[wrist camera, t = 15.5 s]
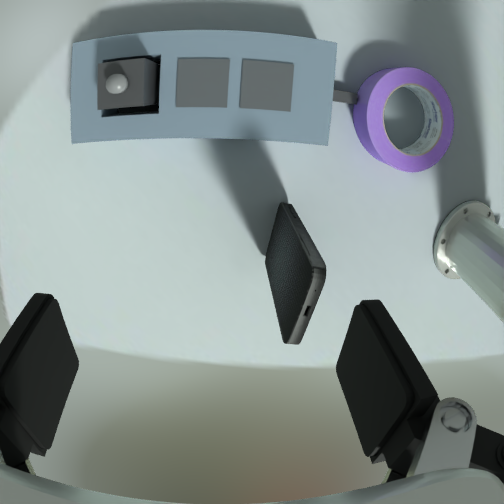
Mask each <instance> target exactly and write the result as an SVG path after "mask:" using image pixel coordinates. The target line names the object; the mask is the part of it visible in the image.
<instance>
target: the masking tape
mask: <svg viewBox="0 0 504 504" xmlns="http://www.w3.org/2000/svg"><path fill="white" fill-rule="evenodd" d="M402 86H403V87H406V88H408V89H409V90H411V91H412V92H413V93H414V94H415V95H416V96H417V97H418V99H419V100H420V102H421V104H422V107H423V110H424V115H425V121H424V127H423V130H422V133H421V135H420V137H419V138H418V139H417V140H416V141H415V142H414V143H413V144H412V145H410V146H408V147H406V148H401V149H398V148H397V147H396V146H395V145H394V144H393V143H392V142H391V141H390V139H389V137H388V135H387V132H386V129H385V125H384V110H385V106H386V103H387V101H388V99H389V97H390V95H391V94H392V93H393V92H394V91H395V90H397V89H398V88H400V87H402ZM357 94H358V97H357V105H356V104H354V108H353V120H354V126H355V130H356V133H357V135H358V138H359V140H360V142H361V143H362V145H363V146H364V148H365V149H366V150H367V151H368V152H369V153H370V154H371V155H372V156H373V157H375V158H376V159H378V160H379V161H381V162H384V163H386V164H388V165H390V166H392V167H394V168H396V169H398V170H401V171H406V172H419V171H423V170H426V169H428V168H430V167H432V166H433V165H435V164H436V163H437V162H438V161H439V160H440V159H441V158H442V157H443V155H444V154H445V153H446V151H447V149H448V147H449V145H450V142H451V139H452V135H453V129H454V116H453V109H452V106H451V102H450V100H449V97H448V95H447V93H446V92H445V90H444V88H443V87H442V86H441V84H440V83H439V82H438V81H437V80H436V79H435V78H434V77H432V76H431V75H430V74H428V73H426V72H425V71H422V70H420V69H417V68H412V67H401V68H390V69H384V70H381V71H378V72H376V73H374V74H372V75H371V76H370V77H368V78H367V79H366V80H365V81H364V83H363V84H362V85H361V87H360V88H359V90H358V92H357Z"/></svg>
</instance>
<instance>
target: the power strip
mask: <svg viewBox="0 0 504 504" xmlns="http://www.w3.org/2000/svg"><path fill="white" fill-rule="evenodd" d="M336 53H337V43H335V42H330V41H325V40H319V39H313V38H307V37H300V36H292V35H284V34H275V33H265V32H253V31H236V30H173V31H156V32H144V33H134V34H125V35H117V36H110V37H103V38H97V39H91V40H86V41H80V42H75V43H73V49H72V65H71V138H72V144H75V143H85V142H97V141H112V140H129V139H155V138H222V139H249V140H267V141H281V142H294V143H305V144H316V145H325V146H328V139H329V130H330V121H331V111H332V101H337V102H343V103H349V104H356V105H357V97H358V94H356V93H351V92H345V91H339V90H334V79H335V66H336ZM140 58H146V59H148V60H150V61H161V68H160V90H159V111H157V112H136V113H121V114H118V108H112V109H102V110H97V83H98V64H99V63H106V62H113V61H121V60H130V59H140Z"/></svg>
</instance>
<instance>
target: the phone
mask: <svg viewBox="0 0 504 504" xmlns="http://www.w3.org/2000/svg"><path fill="white" fill-rule="evenodd" d="M265 265H266V269H267V274H268V278H269V282H270V287H271V291H272V295H273V300H274V304H275V308H276V313H277V317H278V322H279V326H280V331H281V335H282V339H283V342H284V343H285V344H299V343H300V342H301V340H302V338H303V336H304V333H305V331H306V328H307V326H308V324H309V321H310V319H311V316H312V314H313V311H314V309H315V306H316V304H317V301H318V299H319V296H320V294H321V291H322V288H323V286H324V283H325V279H326V265H325V262H324V261H323V259H322V257H321V255H320V253H319V252H318V250H317V248H316V246H315V244H314V243H313V241H312V239H311V237H310V235H309V234H308V232H307V230H306V228H305V227H304V225H303V223H302V221H301V220H300V218H299V216H298V214H297V213H296V211H295V209H294V207H293V206H292V204H287V203H282V202H281V203H280V205H279V208H278V211H277V215H276V219H275V223H274V227H273V230H272V234H271V238H270V242H269V245H268V249H267V253H266V259H265Z"/></svg>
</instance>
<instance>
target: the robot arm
mask: <svg viewBox="0 0 504 504" xmlns="http://www.w3.org/2000/svg"><path fill="white" fill-rule="evenodd" d="M434 261H435V264H436V267H437V268H438V270H439V271H440V272H441V273H442V274H443V275H444V276H445V277H447V278H450V279H460V278H461V279H462V280H463V281H464V282H465V283H466V284H467V285H468V286H469V287H470V288H471V289H472V290H473V291H474V292H475V293H476V294H477V295H478V296H479V297H480V298H481V299H482V300H483V301H484V302H485V303H486V304H487V305H488V307H489V308H490V309H491V310H492V311H493V312H494V313H495V314H496V315H497V316H498V317H499V319H500V320H501V321H502V322H503V323H504V229H503V228H502V227H500V226H499V225H497V224H496V222H495V217H494V214H493V212H492V211H491V209H490V208H489V207H488V206H487V205H485V204H484V203H482V202H480V201H475V200H473V201H467V202H465V203H462V204H461V205H459V206H457V207H456V208H455V209H454V210H453V211H452V212H451V213H450V214H449V215H448V216H447V217H446V219H445V220H444V222H443V223H442V225H441V227H440V229H439V231H438V234H437V237H436V240H435V244H434ZM78 367H79V361H78V357H77V355H76V352H75V349H74V347H73V344H72V341H71V339H70V336H69V333H68V330H67V327H66V325H65V322H64V319H63V316H62V312H61V309H60V306H59V303H58V301H57V300H56V299H54V297H53V296H52V295H51V294H43V293H35V294H34V295H33V296H32V298H31V299H30V300H29V302H28V303H27V305H26V306H25V307H24V309H23V310H22V312H21V313H20V315H19V316H18V317H17V319H16V320H15V322H14V323H13V325H12V326H11V328H10V329H9V331H8V332H7V334H6V336H5V337H4V339H3V340H2V342H1V343H0V504H184V503H169V502H159V501H150V500H142V499H135V498H128V497H121V496H116V495H110V494H104V493H100V492H95V491H90V490H86V489H82V488H78V487H73V486H70V485H66V484H62V483H59V482H55V481H52V480H48V479H45V478H42V477H39V476H36V474H35V472H34V469H33V467H32V465H31V463H30V460H29V458H28V457H29V454H30V452H31V453H34V454H37V455H41V456H45V454H46V451H47V449H50V448H51V446H52V442H53V440H54V436H55V433H56V430H57V427H58V424H59V420H60V418H61V415H62V412H63V409H64V406H65V403H66V400H67V397H68V394H69V392H70V389H71V386H72V384H73V381H74V378H75V376H76V373H77V370H78ZM336 372H337V376H338V379H339V382H340V384H341V387H342V390H343V393H344V395H345V398H346V401H347V404H348V407H349V410H350V412H351V416H352V418H353V422H354V424H355V427H356V430H357V433H358V436H359V439H360V442H361V445H362V448H363V451H364V454H365V455H366V456H367V457H369V456H370V458H371V461H372V464H374V463H378V462H382V461H386V463H387V465H388V471H387V473H386V475H385V477H384V479H383V481H382V483H381V484H380V485H376V486H372V487H367V488H363V489H358V490H354V491H349V492H344V493H338V494H333V495H328V496H322V497H315V498H309V499H302V500H293V501H283V502H272V503H258V504H504V436H503V435H501V434H499V433H496V432H494V431H491V430H489V429H486V428H484V427H482V426H479V425H477V418H476V415H475V412H474V410H473V409H472V407H471V406H470V405H469V404H468V403H467V402H465V401H463V400H461V399H458V398H454V397H452V398H445V399H443V400H441V401H440V400H439V398H438V394H437V392H436V390H435V388H434V387H433V385H432V383H431V381H430V380H429V378H428V376H427V375H426V373H425V371H424V369H423V368H422V366H421V364H420V363H419V361H418V359H417V358H416V356H415V354H414V353H413V351H412V349H411V348H410V346H409V344H408V343H407V341H406V340H405V338H404V336H403V335H402V333H401V332H400V330H399V328H398V327H397V325H396V324H395V322H394V320H393V319H392V317H391V316H390V314H389V313H388V311H387V310H386V308H385V307H384V305H383V303H382V302H381V301H380V300H363V301H361V302H360V304H359V305H356V306H355V308H354V311H353V315H352V318H351V321H350V324H349V328H348V331H347V334H346V337H345V340H344V343H343V346H342V349H341V352H340V355H339V358H338V361H337V365H336Z"/></svg>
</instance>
